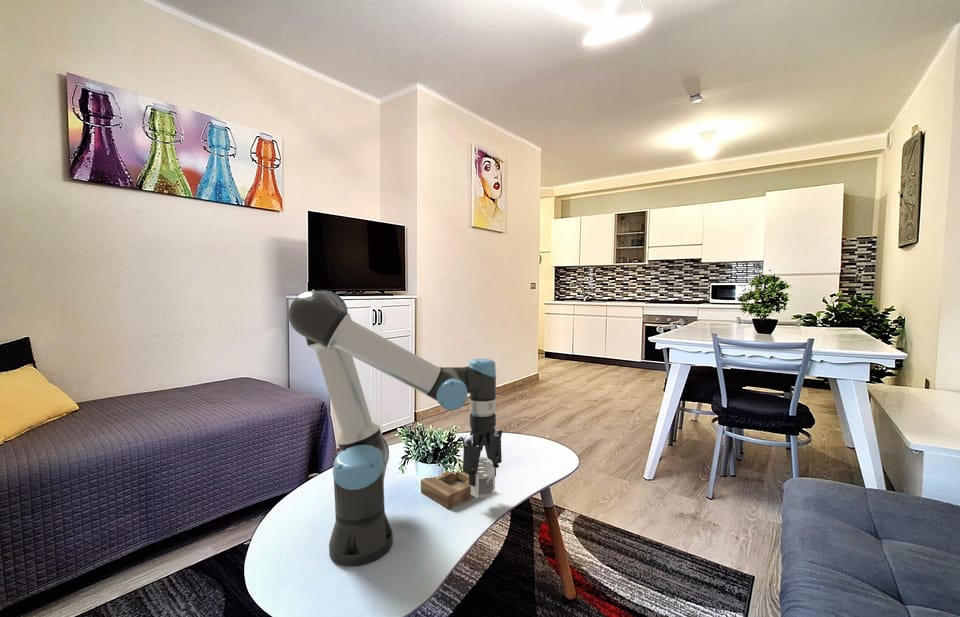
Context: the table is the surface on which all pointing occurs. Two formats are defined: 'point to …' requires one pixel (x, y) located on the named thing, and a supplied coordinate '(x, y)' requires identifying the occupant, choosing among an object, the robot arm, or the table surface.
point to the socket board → (448, 488)
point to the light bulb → (485, 477)
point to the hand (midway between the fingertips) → (482, 491)
